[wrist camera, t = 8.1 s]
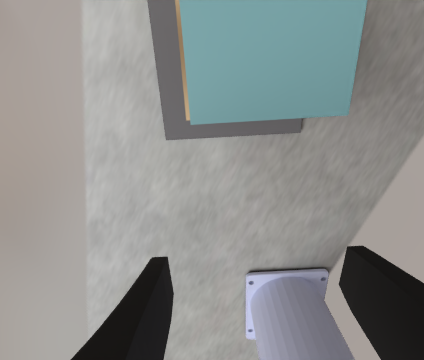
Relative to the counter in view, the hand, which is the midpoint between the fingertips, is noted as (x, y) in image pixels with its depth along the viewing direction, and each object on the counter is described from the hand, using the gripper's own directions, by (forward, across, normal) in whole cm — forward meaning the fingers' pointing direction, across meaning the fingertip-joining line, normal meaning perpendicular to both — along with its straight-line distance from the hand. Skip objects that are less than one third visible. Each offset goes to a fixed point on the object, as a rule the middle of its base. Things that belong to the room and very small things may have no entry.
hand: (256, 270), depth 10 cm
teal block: (+4, 0, -8) cm, 9 cm away
